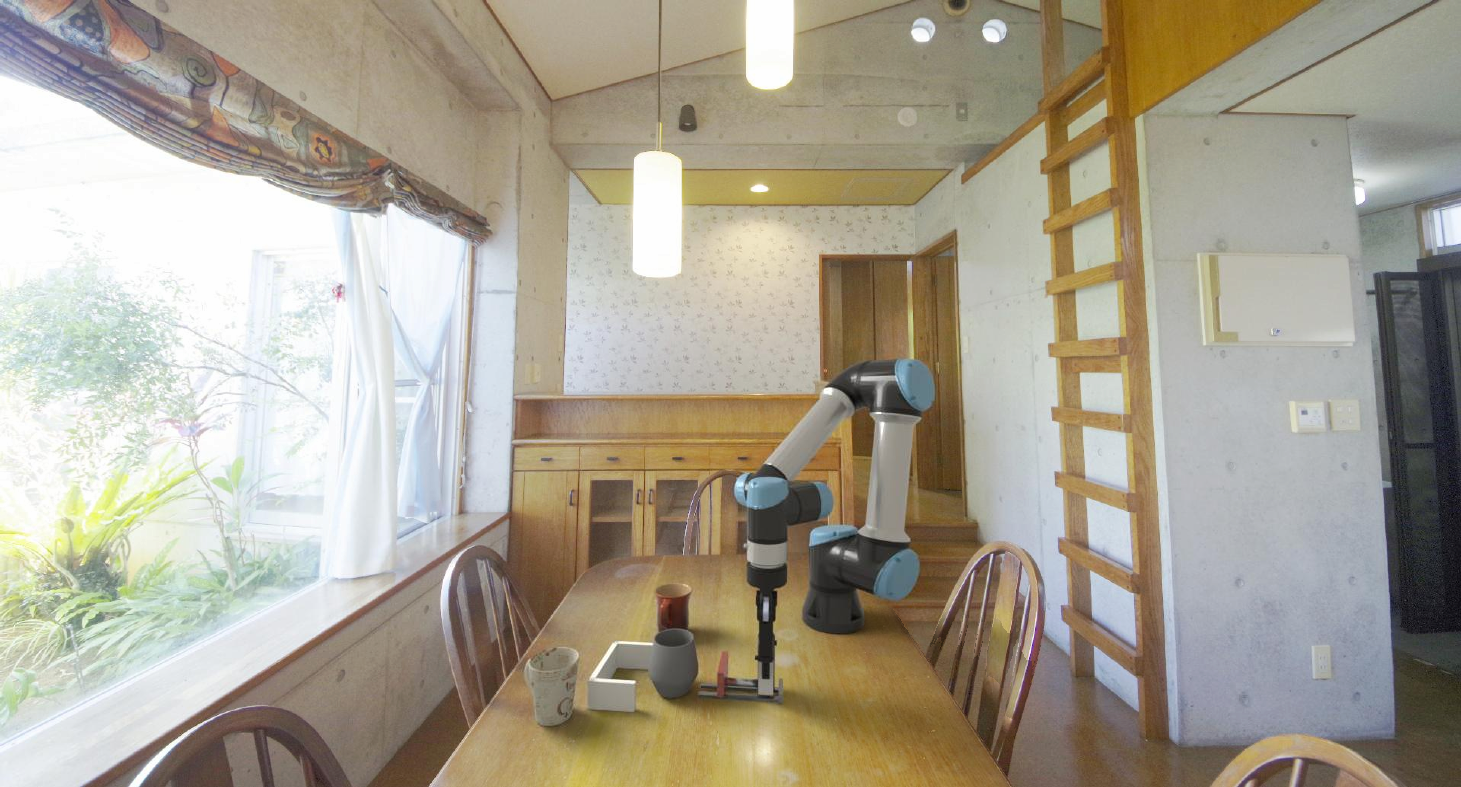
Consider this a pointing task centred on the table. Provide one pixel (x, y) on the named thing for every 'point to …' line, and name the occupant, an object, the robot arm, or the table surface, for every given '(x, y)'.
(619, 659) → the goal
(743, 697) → the rails
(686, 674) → the cup
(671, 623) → the mug
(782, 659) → the table surface
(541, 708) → the mug
